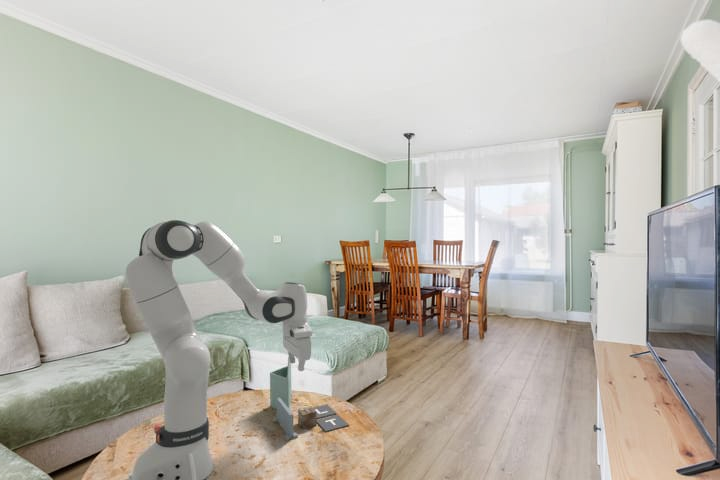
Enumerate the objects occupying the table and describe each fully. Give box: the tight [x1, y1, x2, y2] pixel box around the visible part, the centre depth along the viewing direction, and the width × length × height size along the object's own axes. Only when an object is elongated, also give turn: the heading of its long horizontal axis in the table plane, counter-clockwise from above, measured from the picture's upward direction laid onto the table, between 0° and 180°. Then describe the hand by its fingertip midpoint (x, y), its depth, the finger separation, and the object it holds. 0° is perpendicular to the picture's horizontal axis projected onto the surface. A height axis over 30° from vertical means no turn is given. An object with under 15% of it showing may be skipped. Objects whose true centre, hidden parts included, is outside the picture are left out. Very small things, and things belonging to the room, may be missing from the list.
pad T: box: [316, 414, 350, 433], centre depth 134 cm, size 9×9×1 cm
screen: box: [272, 397, 299, 441], centre depth 131 cm, size 4×16×8 cm, turn 28°
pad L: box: [312, 404, 338, 420], centre depth 143 cm, size 9×9×1 cm
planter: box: [269, 356, 292, 410], centre depth 150 cm, size 16×8×20 cm, turn 7°
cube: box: [297, 406, 317, 430], centre depth 134 cm, size 5×5×5 cm
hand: (296, 366), depth 132 cm, fingers open, 8 cm apart
